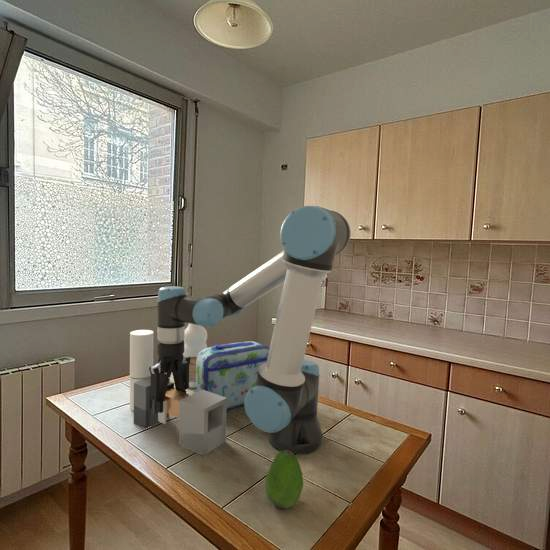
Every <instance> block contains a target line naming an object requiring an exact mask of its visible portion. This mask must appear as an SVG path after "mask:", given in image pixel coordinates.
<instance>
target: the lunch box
mask: <svg viewBox="0 0 550 550" xmlns="http://www.w3.org/2000/svg"><path fill="white" fill-rule="evenodd" d="M269 349H270V346H268V345H262V344H261V343H259V342H257V341H249V340H247V341H241V342H240V341H239V342H231V343H225V344H214V346H209V347H207V348H205V349H203V350H202V351H201V352H200V353H199V354H198V356H197V360H196V388H195V389H196V392H195V393H197V392H199V391H201V390H205V391H208V392H211V393H214V394H217V395H220V396H223V397H226V398H227V410H230V409H234V408H236V407H240V406H244V400H245V396H246V394H247V393H248V391H249V390H250V389H251V388H252V387H254V386H255V384H256V379H257V374H258V370H259V367H260V366H261V365H262V364H264V363H266V362H267V358H268V353H269Z"/></svg>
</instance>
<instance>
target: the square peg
mask: <svg viewBox="0 0 550 550" xmlns="http://www.w3.org/2000/svg"><path fill="white" fill-rule="evenodd" d="M190 395H191V394H190V393H187V392H186V393H185V392H182V391H179V390H176V388H175V383H174V382H171V381H170V383H168V385H167V390H166V395H165V400H166V401H167V414H169V416H172V417H174V418H176V419H179V413H180V400H181V399H183V398H185V397H188V396H190ZM150 407H152V414H154V415H155V414H157V413H158V412H157V402H155V401H153V400H151V399H150ZM208 419H209V412H208Z"/></svg>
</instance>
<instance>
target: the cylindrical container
mask: <svg viewBox="0 0 550 550" xmlns="http://www.w3.org/2000/svg"><path fill="white" fill-rule="evenodd" d="M150 366H154V330H151V329H137V330H132V331H130V332H129V410H130V411H131V412H134V383H135V382H137V381H140V380H143V379H146V378H149V377H151V374H150V370H149V367H150Z"/></svg>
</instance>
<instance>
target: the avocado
mask: <svg viewBox="0 0 550 550" xmlns="http://www.w3.org/2000/svg"><path fill="white" fill-rule="evenodd" d="M265 476H266V477H265V483H264V484H265V490H266V495H267V498H268V500H269V501H270V502H271V503H272V504H273V505H274V506H276V507H278V508H280V509H288V508H291V507H293V506H294V505H295V504H296V503H297V502H298V500H299V498H300V496H301V493H302V492H303V491H302V490H303V488H304V478H303V472H302V467H301V466H300V463H299V461H298V457H297V456H296V454H293V453H292V452H290V451H288V450H282V451H280V450H279V452H278V453H277V454H276V456H275V457H274V459H273V460H272V463H271V465H270V466H269V470H268V472H267V473H266V475H265Z"/></svg>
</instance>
